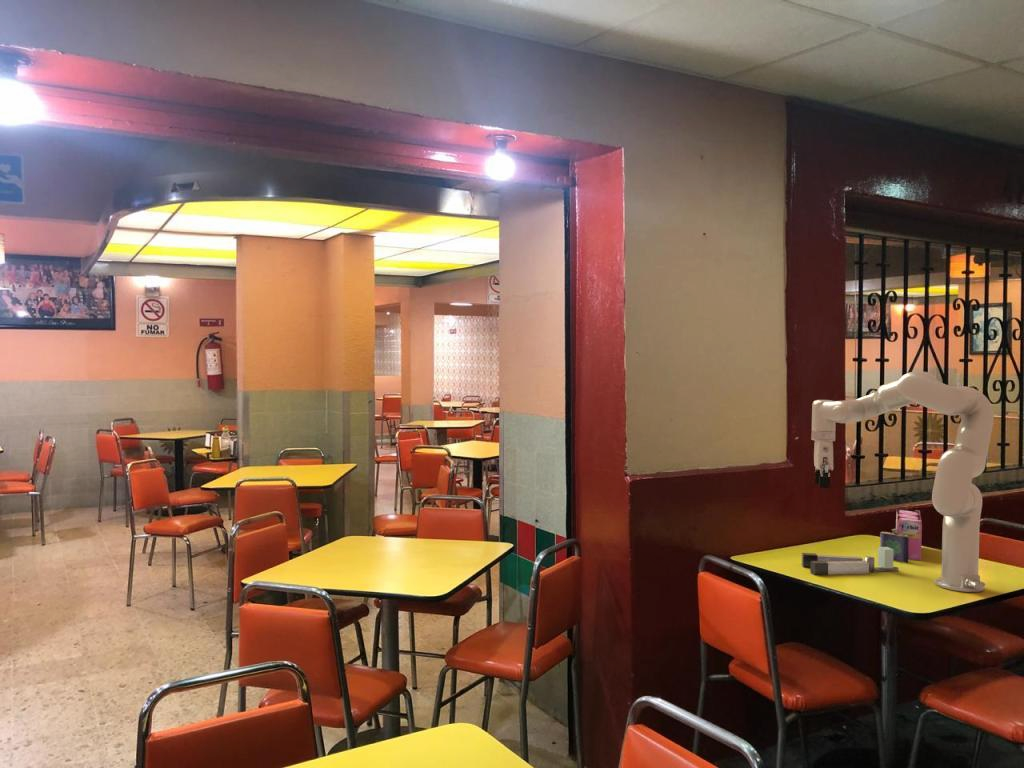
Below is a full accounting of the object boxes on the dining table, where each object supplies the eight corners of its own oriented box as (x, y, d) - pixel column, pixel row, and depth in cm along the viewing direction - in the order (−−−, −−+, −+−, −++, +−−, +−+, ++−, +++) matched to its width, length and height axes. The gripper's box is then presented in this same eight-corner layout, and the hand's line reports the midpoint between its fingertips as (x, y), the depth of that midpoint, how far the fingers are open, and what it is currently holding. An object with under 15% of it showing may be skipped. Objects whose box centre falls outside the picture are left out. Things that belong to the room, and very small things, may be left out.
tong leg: (862, 569, 246) (862, 557, 246) (803, 566, 250) (803, 554, 250) (860, 567, 249) (860, 555, 249) (801, 564, 253) (801, 552, 253)
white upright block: (893, 568, 245) (893, 549, 245) (884, 568, 244) (884, 549, 244) (886, 565, 248) (887, 546, 248) (878, 565, 248) (878, 547, 248)
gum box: (895, 543, 285) (896, 507, 284) (919, 546, 281) (920, 509, 281) (895, 558, 263) (896, 518, 263) (921, 560, 260) (922, 521, 260)
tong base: (903, 573, 244) (903, 559, 244) (814, 575, 240) (815, 561, 240) (894, 569, 248) (894, 555, 248) (807, 571, 245) (807, 557, 245)
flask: (878, 557, 263) (879, 527, 263) (882, 556, 265) (883, 525, 265) (906, 563, 256) (907, 531, 256) (910, 562, 258) (911, 530, 258)
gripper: (840, 438, 251) (838, 490, 252) (830, 434, 268) (828, 482, 269) (815, 438, 253) (814, 489, 253) (807, 433, 270) (806, 481, 270)
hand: (821, 485), depth 261 cm, fingers open, 9 cm apart
